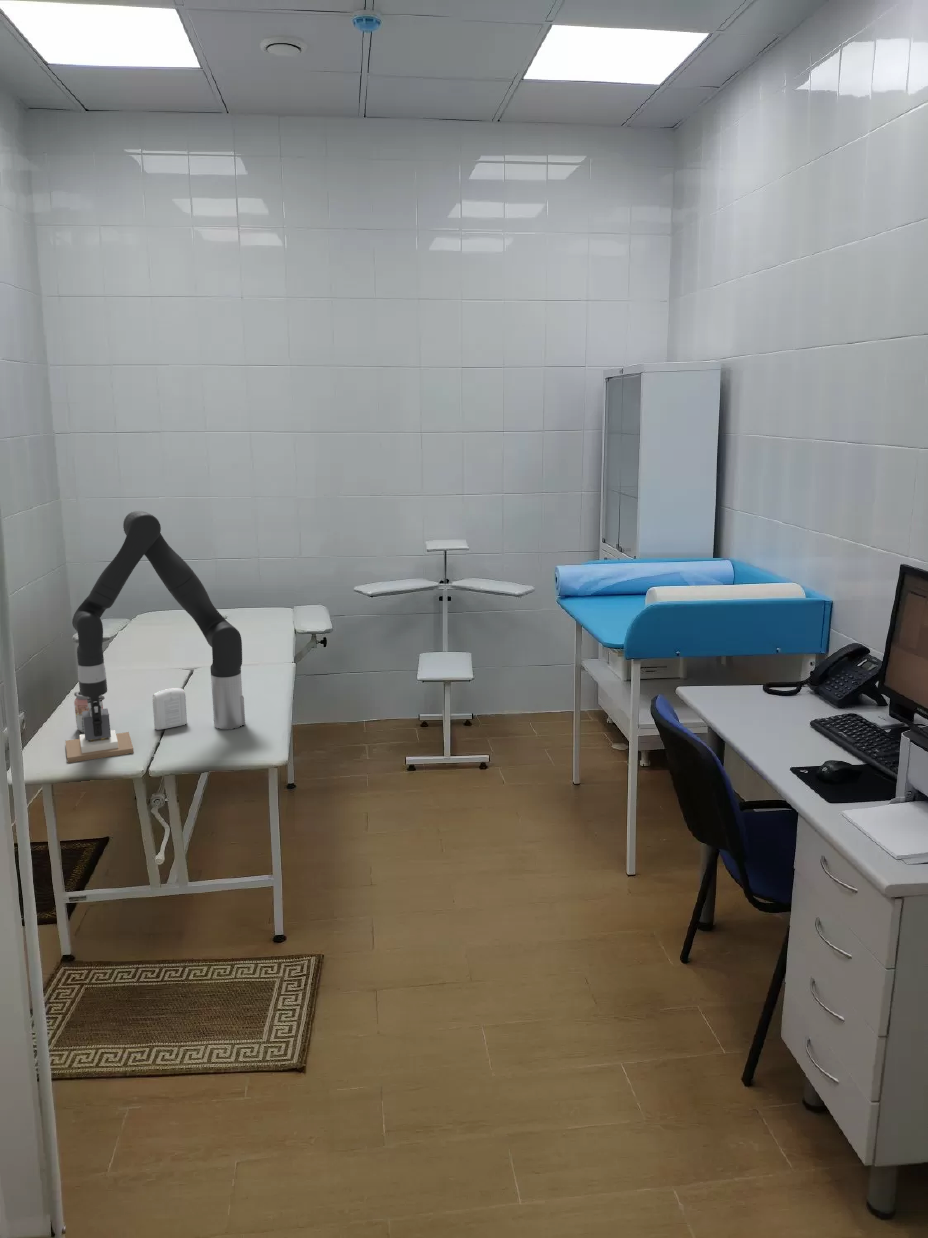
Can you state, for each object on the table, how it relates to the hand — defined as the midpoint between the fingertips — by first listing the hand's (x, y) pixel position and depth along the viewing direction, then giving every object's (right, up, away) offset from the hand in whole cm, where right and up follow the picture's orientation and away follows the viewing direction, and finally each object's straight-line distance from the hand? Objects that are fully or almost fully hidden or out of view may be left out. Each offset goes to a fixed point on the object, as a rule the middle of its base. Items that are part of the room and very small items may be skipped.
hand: (97, 732), depth 279 cm
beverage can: (-9, -1, +18) cm, 20 cm away
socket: (0, -5, +1) cm, 5 cm away
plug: (0, -2, +1) cm, 2 cm away
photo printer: (+16, -1, +20) cm, 25 cm away
